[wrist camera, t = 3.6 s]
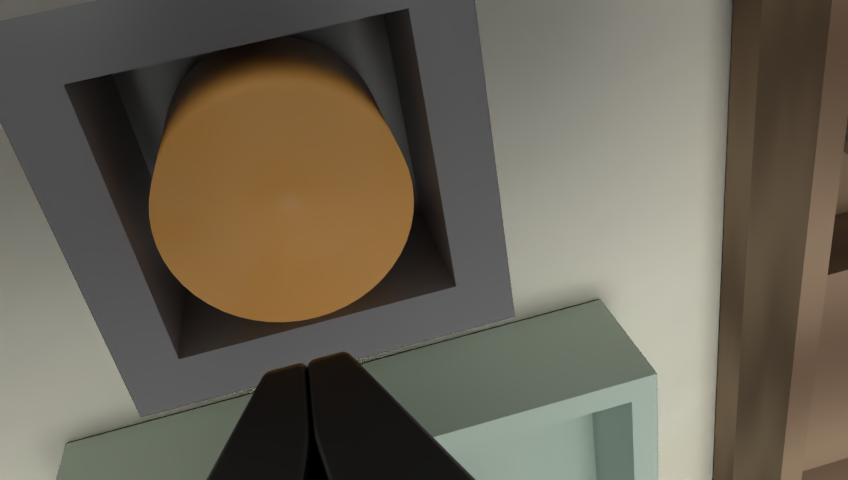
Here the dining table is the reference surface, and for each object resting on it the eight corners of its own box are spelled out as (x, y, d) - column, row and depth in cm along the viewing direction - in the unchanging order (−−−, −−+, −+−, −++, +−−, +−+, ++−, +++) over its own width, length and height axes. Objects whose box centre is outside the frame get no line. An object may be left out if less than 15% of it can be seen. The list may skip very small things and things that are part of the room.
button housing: (466, 230, 17) (515, 316, 14) (157, 309, 17) (140, 417, 14) (414, -101, 14) (464, -78, 11) (19, -19, 13) (-44, 29, 10)
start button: (399, 209, 16) (432, 287, 13) (203, 259, 15) (197, 348, 13) (358, 13, 14) (389, 59, 11) (131, 63, 13) (107, 122, 11)
